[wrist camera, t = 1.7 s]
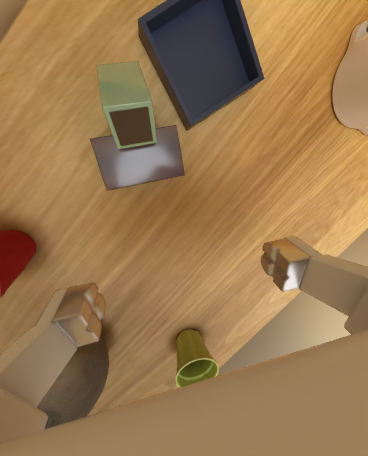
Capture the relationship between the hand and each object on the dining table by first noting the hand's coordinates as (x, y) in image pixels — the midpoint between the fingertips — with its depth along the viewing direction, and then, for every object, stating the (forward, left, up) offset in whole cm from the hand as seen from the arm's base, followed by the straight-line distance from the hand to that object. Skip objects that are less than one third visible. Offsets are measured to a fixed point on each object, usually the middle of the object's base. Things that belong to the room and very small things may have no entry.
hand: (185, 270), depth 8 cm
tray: (-17, -13, -25) cm, 33 cm away
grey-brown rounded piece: (+30, +16, -25) cm, 42 cm away
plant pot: (+13, +34, -25) cm, 44 cm away
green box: (-4, -12, -25) cm, 28 cm away
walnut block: (-2, -6, -25) cm, 26 cm away
